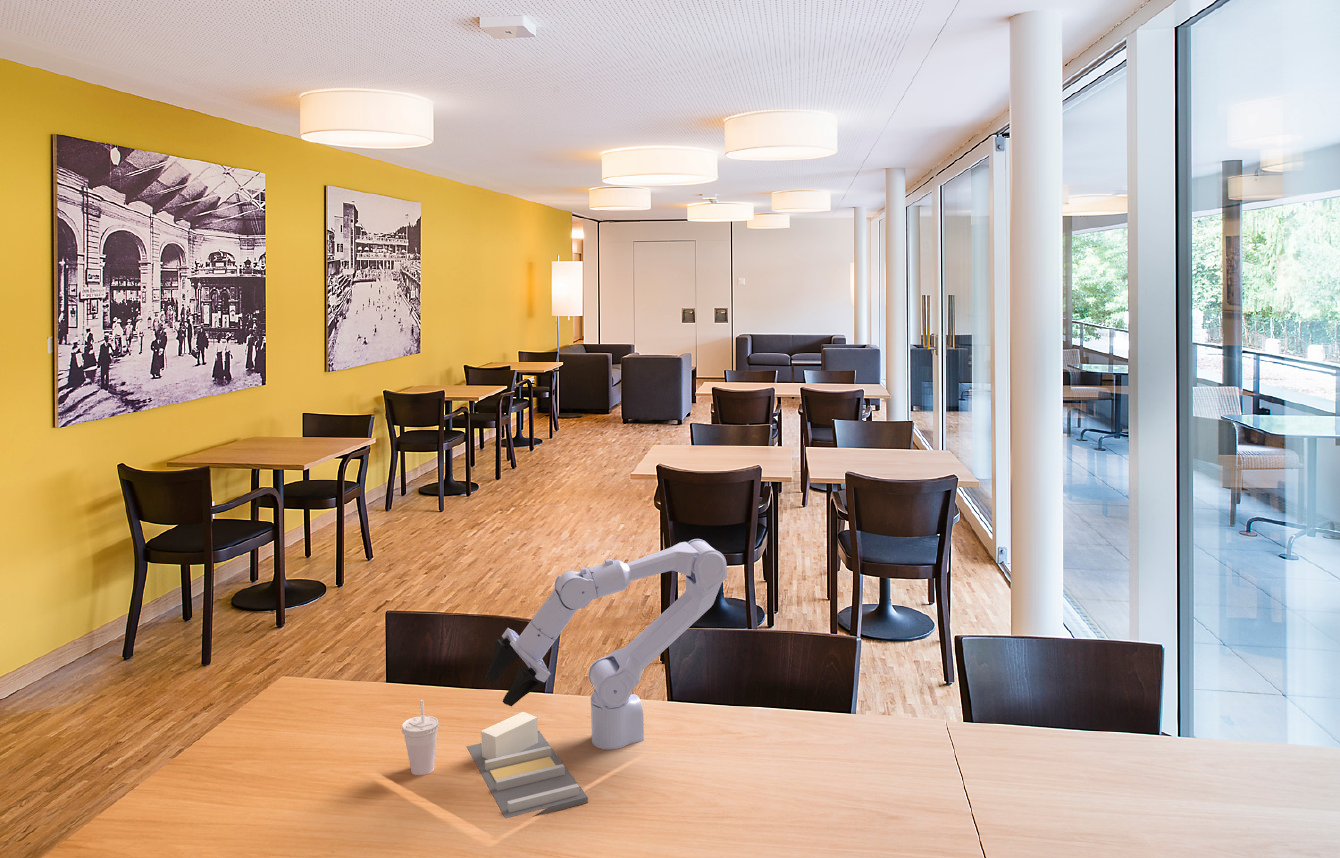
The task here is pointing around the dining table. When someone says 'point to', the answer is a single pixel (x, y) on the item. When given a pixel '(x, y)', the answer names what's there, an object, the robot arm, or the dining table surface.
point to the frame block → (509, 736)
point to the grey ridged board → (529, 780)
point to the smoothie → (421, 742)
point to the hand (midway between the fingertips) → (497, 691)
